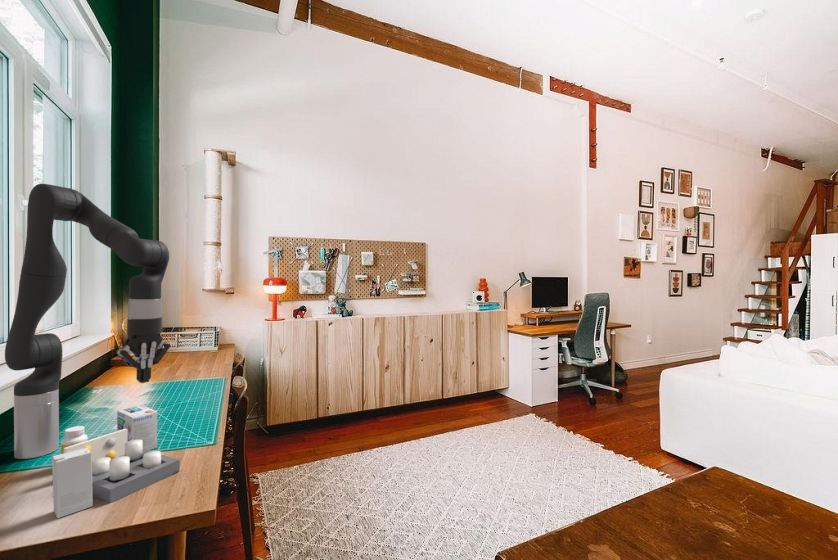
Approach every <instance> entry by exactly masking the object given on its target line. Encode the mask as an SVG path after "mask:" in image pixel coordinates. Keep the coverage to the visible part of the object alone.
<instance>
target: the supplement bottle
mask: <svg viewBox="0 0 838 560" xmlns="http://www.w3.org/2000/svg"><path fill="white" fill-rule="evenodd" d="M64 436H65V437H64V438H63V439H61V441H60V454H64V448H66V447H69V446H72V445H75V444H78V443H81V442H85V441H88V440H89V438H88V435H87V434H85V426H84V425H75V426H73V427H68V428H66V429H64Z"/></svg>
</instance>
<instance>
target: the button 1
mask: <svg viewBox="0 0 838 560" xmlns="http://www.w3.org/2000/svg"><path fill="white" fill-rule="evenodd" d="M110 461H111V458H109V457H103V458H99V459H96V460H93V461H92V476H95V477H96V476H99V475H101V474H104V473H106V472H109V462H110Z"/></svg>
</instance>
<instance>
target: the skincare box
mask: <svg viewBox="0 0 838 560" xmlns="http://www.w3.org/2000/svg"><path fill="white" fill-rule="evenodd" d="M51 467H52V469H51V470H52V496H53V497H52V498H53V513H54V515H55V516H56V518H57V519H60V518H63V517H66V516H69V515H71V514H74V513H78V512H81V511H83V510H85V509H88V508H91V507H93V505H94V504H93V503H94V502H93V499H94V498H93V496H92V461H91V452H90V451H89V449H88V448H83V449H79V450H75V451H71V452H68V453H64V454H61V453H60V454H57V455H53V456H52V457H51Z"/></svg>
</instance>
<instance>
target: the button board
mask: <svg viewBox="0 0 838 560" xmlns="http://www.w3.org/2000/svg"><path fill="white" fill-rule="evenodd" d="M148 452H151V450H149V451H147V450H143V455H144V454H146V453H148ZM122 456H125V455H122ZM122 456H119V457H122ZM111 460H112V459H111ZM180 463H181V460H180V459H178V458H174V457H171V456H168V455H163V454H161V464H160V465H158V466H155V467H153V468H151V469H146V468H143V456H142V457H141V458H139V459H137V460H133V461H130V475H129V476H128V477H126V478H124V479H121V480H115V481H112V480H110V479H109V472H106V473H104V474H101V475H99V476H96V477H95V476H92V497H94V498H95V499H99V500H102V501H104V502H106V503H109V504H112V503H114V502H116V501H118V500H120V499H123V498H124V497H125V498H126V497H127V496H129V495H131V494H133V493H137V492H138V491H141V490H142V489H143V490H144V489H145V488H146V487H149V486H151V485H153V484H155V483H158V482H160V481H162V480H164V479H167V478H168V477H169V478H170V477H172V476H174V475H175V474H178V473H180V470H181V469H180Z"/></svg>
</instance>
